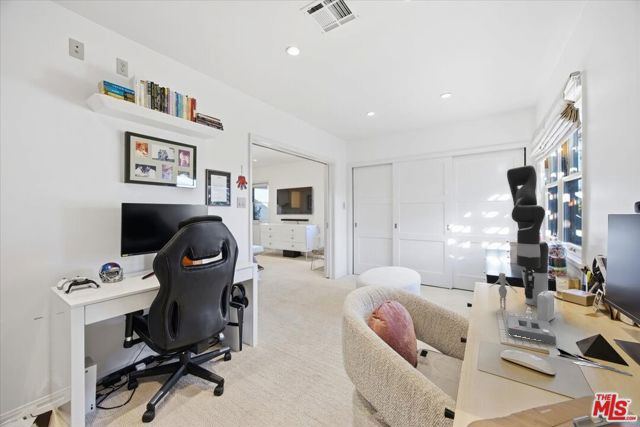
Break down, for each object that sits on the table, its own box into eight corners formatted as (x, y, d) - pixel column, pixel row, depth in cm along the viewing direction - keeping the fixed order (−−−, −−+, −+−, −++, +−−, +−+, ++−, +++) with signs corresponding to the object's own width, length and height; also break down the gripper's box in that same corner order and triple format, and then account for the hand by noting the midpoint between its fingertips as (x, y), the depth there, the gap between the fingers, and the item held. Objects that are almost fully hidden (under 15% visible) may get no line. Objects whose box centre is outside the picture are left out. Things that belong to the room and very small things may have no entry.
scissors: (634, 383, 74) (634, 374, 74) (539, 354, 90) (539, 347, 90) (633, 372, 79) (633, 364, 79) (543, 346, 95) (543, 340, 95)
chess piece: (518, 329, 108) (518, 305, 108) (529, 328, 109) (529, 304, 109) (528, 334, 103) (528, 309, 103) (540, 334, 104) (539, 309, 104)
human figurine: (518, 310, 129) (517, 274, 129) (516, 312, 126) (516, 275, 126) (490, 304, 138) (489, 270, 138) (488, 306, 135) (487, 271, 135)
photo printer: (544, 314, 123) (543, 288, 123) (555, 317, 120) (555, 290, 120) (535, 319, 118) (535, 292, 118) (548, 323, 114) (547, 294, 114)
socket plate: (506, 321, 116) (506, 312, 116) (548, 328, 109) (548, 319, 109) (508, 335, 103) (508, 325, 103) (555, 344, 95) (555, 334, 95)
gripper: (515, 251, 114) (515, 291, 114) (518, 256, 102) (518, 300, 102) (537, 253, 110) (538, 294, 110) (543, 258, 98) (543, 304, 98)
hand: (528, 297), depth 106 cm, fingers open, 3 cm apart
